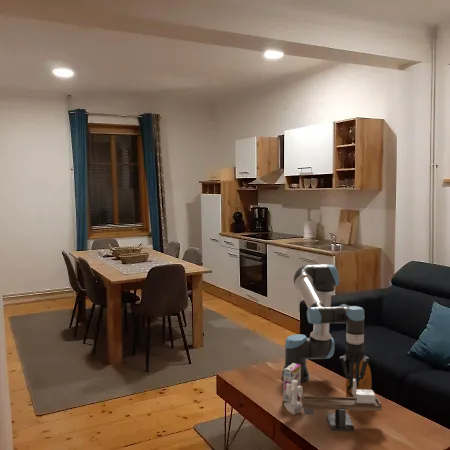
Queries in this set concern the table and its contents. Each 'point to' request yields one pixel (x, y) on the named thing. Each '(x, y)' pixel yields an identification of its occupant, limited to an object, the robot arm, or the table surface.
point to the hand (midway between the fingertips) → (353, 393)
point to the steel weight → (364, 397)
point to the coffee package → (363, 383)
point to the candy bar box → (291, 374)
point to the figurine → (294, 397)
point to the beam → (335, 404)
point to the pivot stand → (340, 421)
